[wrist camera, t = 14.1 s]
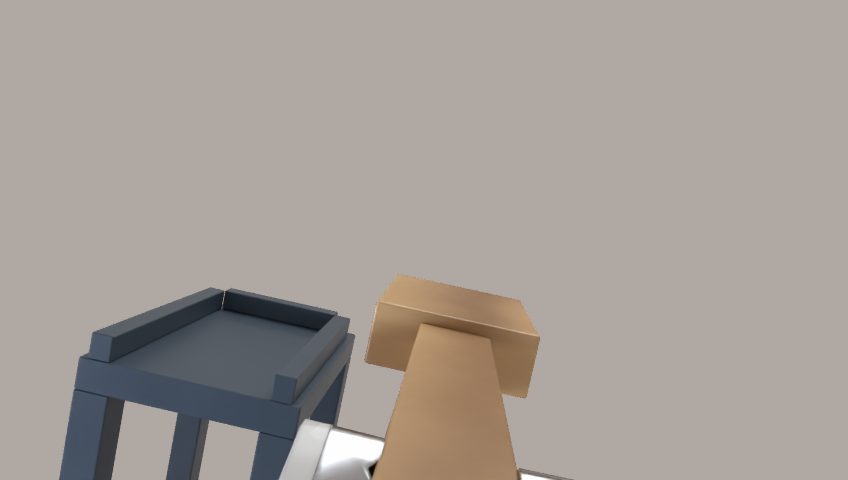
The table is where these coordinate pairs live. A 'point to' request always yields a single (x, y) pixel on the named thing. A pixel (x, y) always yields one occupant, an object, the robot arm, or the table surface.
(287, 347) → the tall stand
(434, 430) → the crossed tan timber pieces
